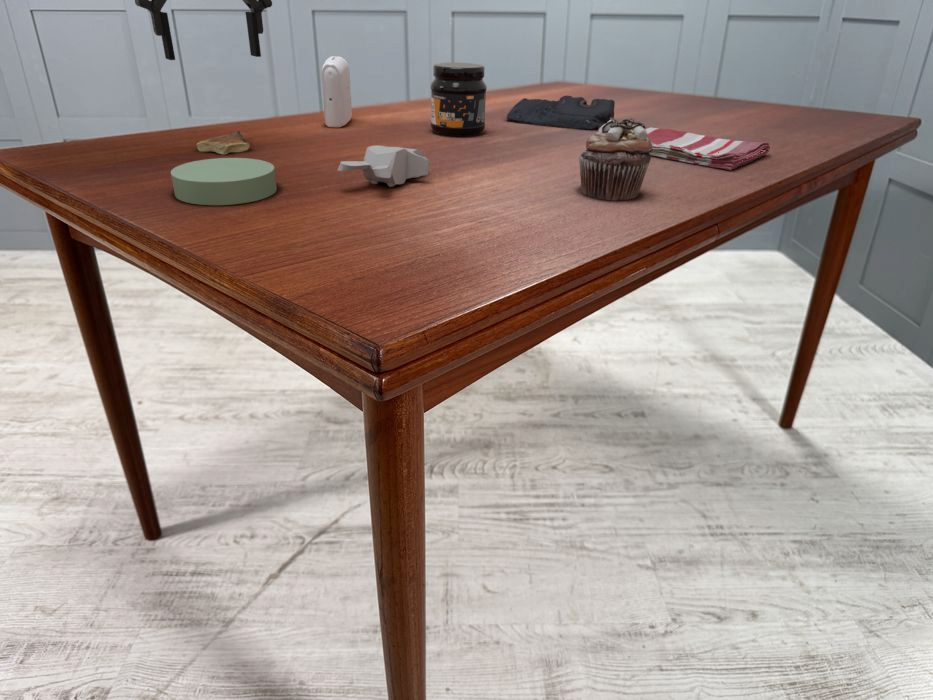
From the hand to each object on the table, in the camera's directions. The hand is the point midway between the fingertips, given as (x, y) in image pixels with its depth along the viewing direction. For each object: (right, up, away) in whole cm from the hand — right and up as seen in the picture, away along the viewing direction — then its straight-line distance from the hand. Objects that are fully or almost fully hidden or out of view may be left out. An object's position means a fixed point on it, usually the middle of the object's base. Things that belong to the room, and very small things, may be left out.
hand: (214, 57), depth 107 cm
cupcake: (+61, -25, -13) cm, 67 cm away
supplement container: (+39, -5, +22) cm, 45 cm away
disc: (+8, -26, -18) cm, 32 cm away
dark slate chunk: (+61, +2, +36) cm, 71 cm away
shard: (-1, -13, +6) cm, 14 cm away
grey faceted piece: (+29, -23, -12) cm, 39 cm away
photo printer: (+15, -1, +28) cm, 31 cm away
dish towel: (+80, -12, +12) cm, 81 cm away
